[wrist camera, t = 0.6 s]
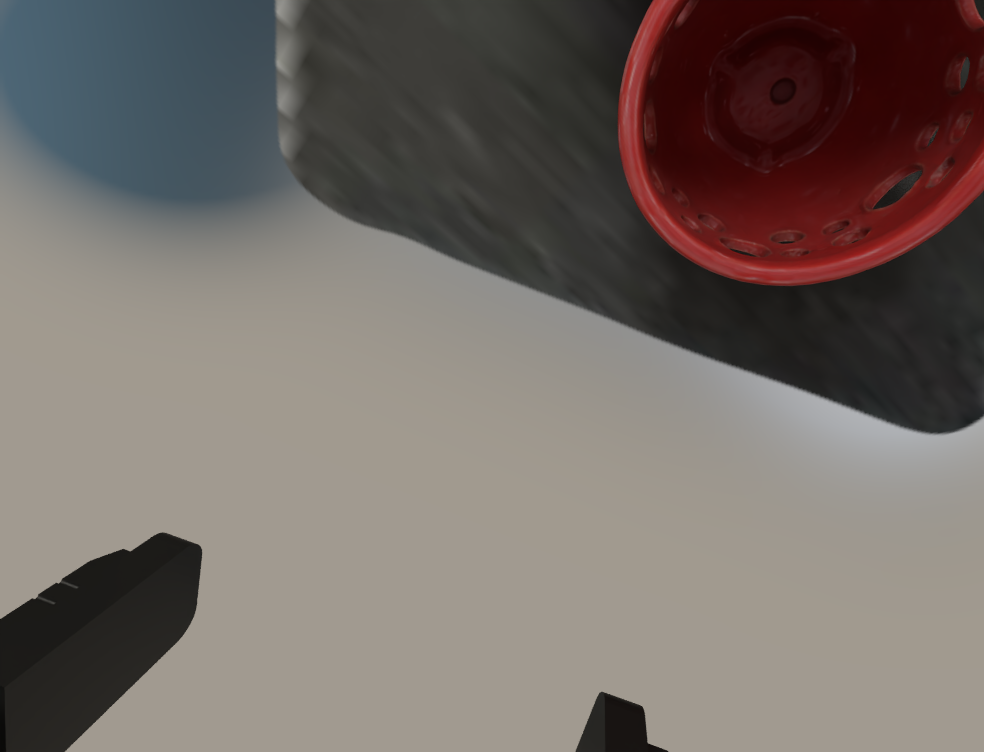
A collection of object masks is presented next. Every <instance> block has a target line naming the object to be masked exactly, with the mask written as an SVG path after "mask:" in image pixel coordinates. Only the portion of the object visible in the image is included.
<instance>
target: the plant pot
mask: <svg viewBox="0 0 984 752" xmlns="http://www.w3.org/2000/svg"><path fill="white" fill-rule="evenodd" d="M966 57H968V58H969V61H970V68H969V74H968V79H967V81H966V84H965V86H964V88H963V89H961V86H960V80H961V78H960V73H961V70H962V66H963V63H964V61H965V59H966ZM970 121H971V122H970ZM969 122H970V124H969ZM968 124H969V126H968ZM967 126H968V128H967ZM938 128H939V129H938ZM966 128H967V130H966ZM937 129H938V131H937V133H936V136H935V138H934V141H933V142H932V143H931V144H930V145H929V146H928V147H927V145H928V143H929V140H930V138H931V137H932V135H933V134H934V132H935V131H936V130H937ZM965 131H966V132H965ZM618 141H619V150H620V155H621V161H622V165H623V169H624V173H625V176H626V179H627V183H628V185H629V188H630V191H631V193H632V196H633V198H634V200H635V202H636V204H637V206H638V208H639V209H640V211H641V213H642V214H643V215H644V217H645V218H646V220H647V221H648V223H649V224H650V225H651V226H652V227H653V229H654V230H655V231H656V232H657V233H658V234H659V236H660V237H661V238H662V239H663V240H665V241H666V242H667V243H668V244H669V246H671V247H672V248H673V249H675V250H676V251H677V252H678V253H680V254H681V255H682V256H684V257H685V258H687V259H689V260H690V261H692V262H694V263H695V264H697V265H699V266H701V267H703V268H705V269H707V270H709V271H711V272H714V273H716V274H719V275H722V276H725V277H727V278H731V279H735V280H738V281H742V282H748V283H754V284H761V285H774V286H796V285H808V284H815V283H820V282H826V281H831V280H836V279H841V278H844V277H847V276H851V275H854V274H857V273H860V272H863V271H865V270H868V269H871V268H874V267H876V266H879V265H881V264H884V263H886V262H888V261H890V260H892V259H895V258H897V257H899V256H901V255H903V254H904V253H906V252H908V251H910V250H911V249H913V248H915V247H916V246H918V245H920V244H921V243H923V242H924V241H926V240H927V239H929V238H930V237H932V236H933V235H935V234H936V233H938V232H939V231H941V230H942V229H943V228H944V227H945V226H946V225H948V224H949V223H950V222H951V221H953V220H954V219H955V218H957V217H958V216H959V215H960V214H961V212H962V211H964V210H965V209H966V208H967V207H968V206H969V205H970V204H971V203H972V202H973V201H974V200H975V199H976V198H977V197H978V196H979V195H980V194H981V193H982V192H983V191H984V21H983V20H982V18H981V17H980V15H979V13H978V11H977V8H976V6H975V3H974V0H653V1H652V3H651V5H650V7H649V8H648V10H647V12H646V14H645V16H644V19H643V21H642V23H641V25H640V27H639V29H638V32H637V34H636V36H635V39H634V41H633V43H632V46H631V49H630V52H629V55H628V58H627V62H626V65H625V69H624V73H623V78H622V83H621V89H620V96H619V106H618ZM920 170H922V175H921V177H920V178H919V179H918V180H917V181H916V182H915V184H914V185H913V187H912V188H911V189H910V190H909V191H908V192H906V193H905V194H904V195H903V196H902V197H901V198H900V199H899V200H898V201H897V202H895V203H893V204H891V205H889V206H886V207H883V208H878V209H873V207H874V206H875V205H876V204H877V202H878V201H879V200H880V199H881V198H882V197H883V196H884V195H885V194H886V193H887V192H888V190H889V189H891V188H892V187H893V186H895V185H896V184H897V183H898V182H899V181H901V180H902V179H904V178H905V177H907V176H909V175H910V174H912V173H915V172H917V171H920ZM950 170H951V171H950ZM947 174H948V175H947ZM946 175H947V176H946ZM945 176H946V177H945ZM944 177H945V178H944ZM943 178H944V179H943ZM942 179H943V180H942ZM843 228H844V229H843ZM840 229H843V230H840ZM837 230H840V231H838V232H835V231H837ZM833 232H835V233H833ZM859 239H860V240H859ZM856 240H858V241H856ZM783 241H795V242H794V243H788V244H781V243H778V242H783ZM854 241H856V242H854ZM851 242H854V243H851ZM849 243H850V244H849ZM729 248H730V249H735V250H739V251H743V252H747V253H750V254H752V255H755V256H757V257H753V256H748V255H743V254H739V253H736V252H734V251H732V250H730V249H729Z"/></svg>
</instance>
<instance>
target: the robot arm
mask: <svg viewBox="0 0 984 752" xmlns="http://www.w3.org/2000/svg"><path fill="white" fill-rule="evenodd" d="M201 560H202V549H201V547H200V546H199V545H198V544H195V543H192V542H189V541H187V540H184V539H181V538H178V537H176V536H173V535H170V534H167V533H159V534H156V535H154V536H153V537H151V538H150V539H148V540H147V541H145V542H144V543H143V544H141V545H140V546H138V547H137V548H135V549H134V550H132V551H131V552H130V551H127V550H125V549H122V550H119V551H116V552H113V553H111V554H108V555H105V556H102V557H100V558H97V559H94V560H92V561H89V562H88V563H86V564H84V565H83V566H81V567H80V568H78V569H77V570H75V571H74V572H72V573H71V574H69V575H68V576H66V577H64V578H63V579H62V581H61V582H60V583H59V584H58V583H55V584H54V585H52V586H51V587H49V588H48V589H46V590H44V591H43V592H41V593H40V594H38V597H37V598H36V599H31V600H29V601H27V602H26V603H25V604H23V605H21V606H20V607H18V608H17V609H15V610H14V611H12V612H11V613H9V614H7V615H6V616H5V617H3V618H2V619H0V752H65V751H66V750H67V749H68V748H69V747H70V746H71V745H72V744H73V743H74V742H75V741H76V740H77V739H78V738H79V737H80V736H81V735H82V734H83V733H84V732H85V731H86V730H87V729H88V728H89V727H90V726H91V725H93V723H95V722H96V720H98V719H99V718H100V717H101V716H102V715H103V714H104V713H105V712H106V711H107V710H108V709H109V708H110V707H111V706H112V705H113V704H114V703H115V702H116V701H117V700H118V699H119V698H120V697H121V696H122V695H123V694H124V693H125V692H126V691H127V690H128V689H129V688H130V687H132V686H133V685H134V684H135V682H137V681H138V680H139V679H140V678H141V677H142V676H143V675H144V674H145V673H146V672H147V671H148V670H149V669H150V668H151V667H152V666H153V665H154V664H155V663H156V662H157V661H158V660H159V659H160V658H161V657H162V656H163V655H164V654H165V653H166V652H167V651H168V650H170V648H171V647H173V646H174V645H175V644H176V643H177V642H178V641H179V639H180V638H181V637H182V636H183V635H184V633H185V632H186V630H187V629H188V627H189V625H190V623H191V621H192V619H193V617H194V614H195V611H196V606H197V597H198V588H199V579H200V569H201ZM576 752H668V751H667V750H664V749H662V748H659V747H656V746H653V745H651V744H648V743H647V732H646V722H645V713H644V709H643V707H642V706H640V705H638V704H635V703H632V702H629V701H627V700H624V699H621V698H618V697H615V696H613V695H610V694H607V693H604V692H601V693H599V695H598V697H597V699H596V701H595V704H594V707H593V709H592V712H591V714H590V716H589V719H588V721H587V724H586V726H585V729H584V731H583V734H582V737H581V739H580V742H579V744H578V746H577V749H576Z"/></svg>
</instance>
